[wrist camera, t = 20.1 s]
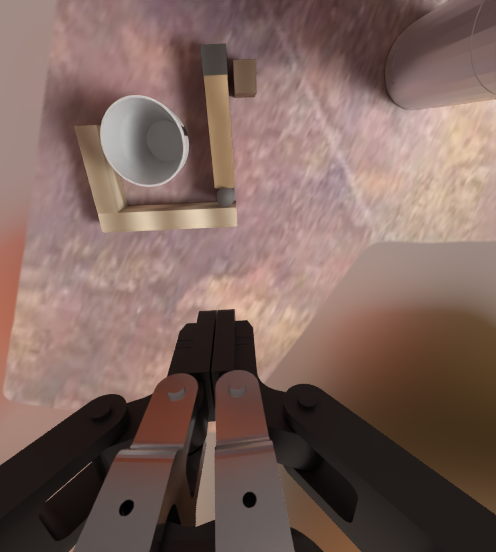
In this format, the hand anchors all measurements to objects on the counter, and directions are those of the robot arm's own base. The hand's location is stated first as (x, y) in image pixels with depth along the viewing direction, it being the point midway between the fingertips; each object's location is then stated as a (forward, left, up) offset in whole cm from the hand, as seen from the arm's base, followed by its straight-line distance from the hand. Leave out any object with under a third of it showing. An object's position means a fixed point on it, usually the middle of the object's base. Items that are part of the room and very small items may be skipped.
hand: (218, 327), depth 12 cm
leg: (+1, -8, -31) cm, 32 cm away
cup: (+8, -7, -31) cm, 33 cm away
